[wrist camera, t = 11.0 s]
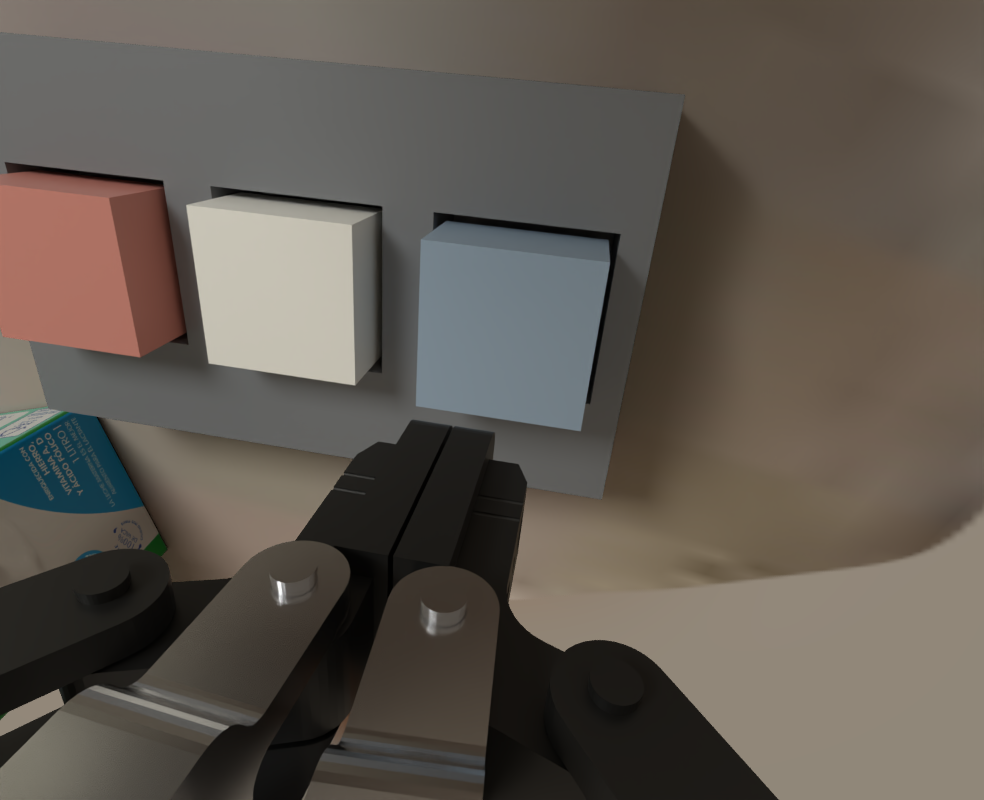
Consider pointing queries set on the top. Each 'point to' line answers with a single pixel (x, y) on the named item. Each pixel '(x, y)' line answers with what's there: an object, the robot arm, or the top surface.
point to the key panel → (353, 181)
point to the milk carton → (64, 495)
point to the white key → (289, 284)
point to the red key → (87, 263)
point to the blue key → (509, 322)
